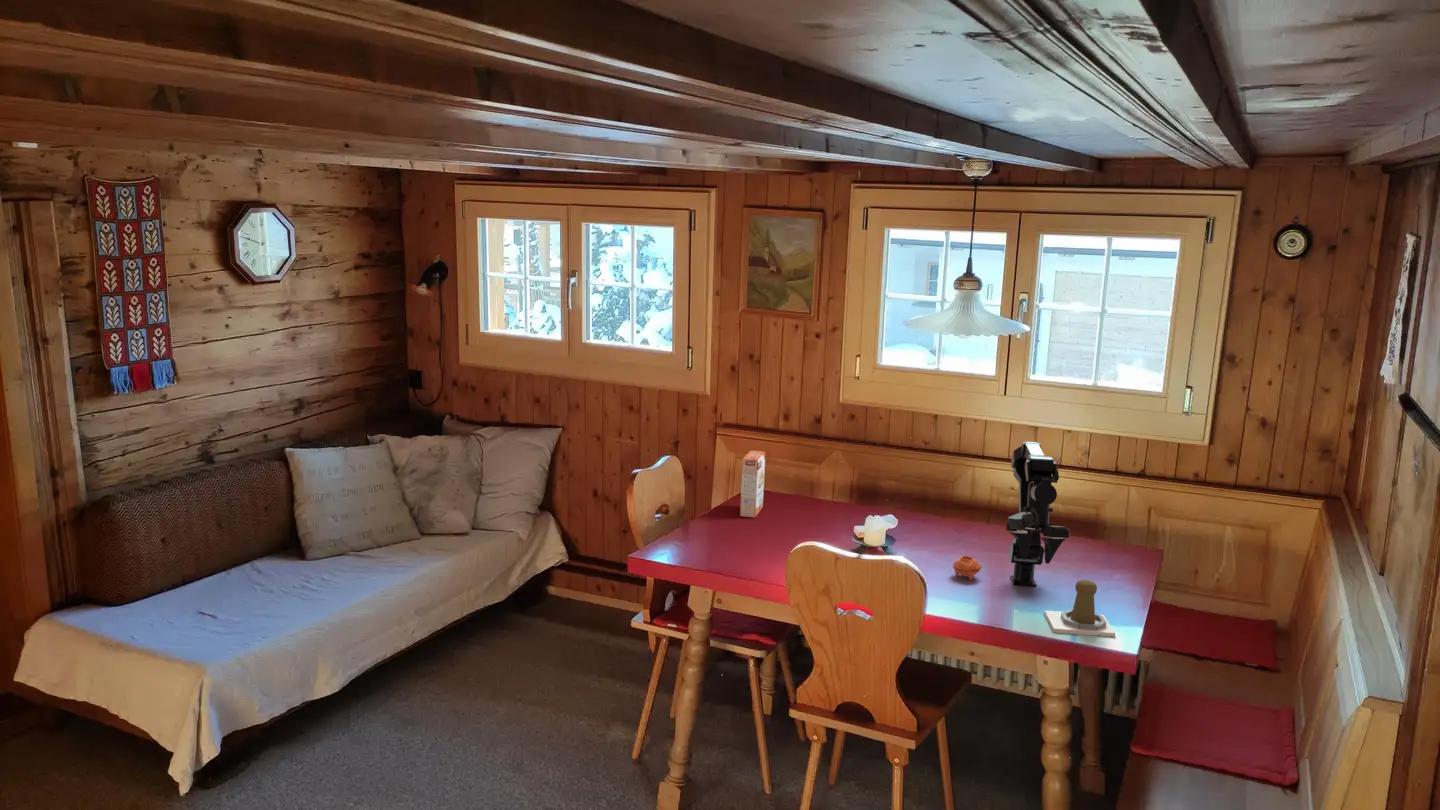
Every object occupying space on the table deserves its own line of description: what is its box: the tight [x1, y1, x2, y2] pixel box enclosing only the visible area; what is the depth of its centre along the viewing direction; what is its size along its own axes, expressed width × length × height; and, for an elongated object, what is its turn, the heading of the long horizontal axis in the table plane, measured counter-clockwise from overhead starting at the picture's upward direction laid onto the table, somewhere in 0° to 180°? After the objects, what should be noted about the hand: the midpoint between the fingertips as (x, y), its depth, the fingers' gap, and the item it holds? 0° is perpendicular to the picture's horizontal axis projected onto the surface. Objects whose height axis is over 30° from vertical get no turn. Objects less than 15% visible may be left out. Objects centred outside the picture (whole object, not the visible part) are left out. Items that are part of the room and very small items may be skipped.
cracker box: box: [739, 450, 767, 519], centre depth 346 cm, size 14×6×21 cm, turn 167°
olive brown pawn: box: [1070, 579, 1098, 624], centre depth 255 cm, size 6×6×11 cm
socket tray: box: [1044, 608, 1116, 637], centre depth 256 cm, size 12×15×2 cm
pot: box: [952, 555, 982, 582], centre depth 289 cm, size 8×8×7 cm
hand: (1035, 561), depth 267 cm, fingers open, 9 cm apart
